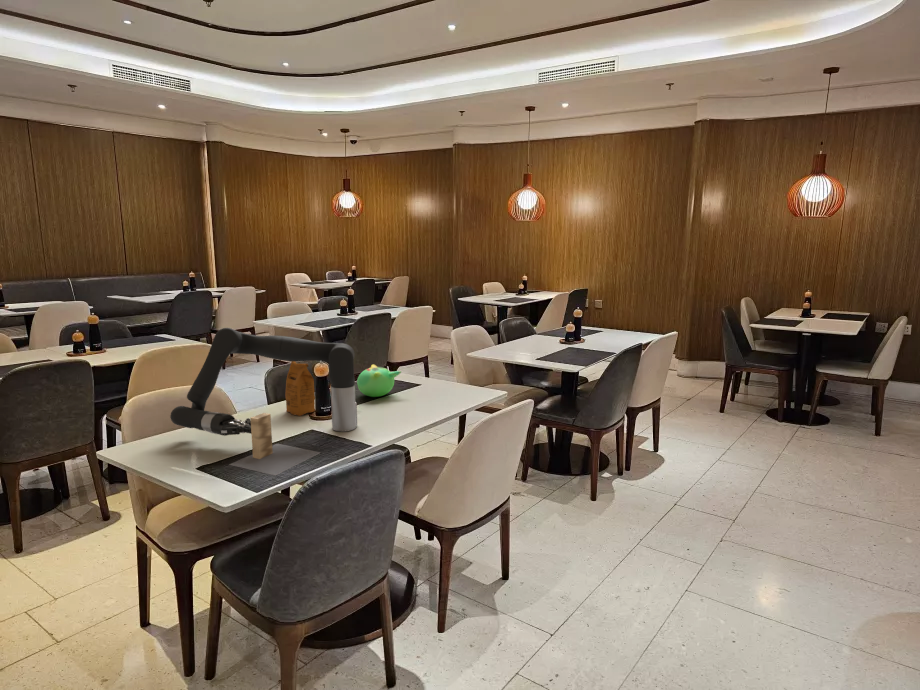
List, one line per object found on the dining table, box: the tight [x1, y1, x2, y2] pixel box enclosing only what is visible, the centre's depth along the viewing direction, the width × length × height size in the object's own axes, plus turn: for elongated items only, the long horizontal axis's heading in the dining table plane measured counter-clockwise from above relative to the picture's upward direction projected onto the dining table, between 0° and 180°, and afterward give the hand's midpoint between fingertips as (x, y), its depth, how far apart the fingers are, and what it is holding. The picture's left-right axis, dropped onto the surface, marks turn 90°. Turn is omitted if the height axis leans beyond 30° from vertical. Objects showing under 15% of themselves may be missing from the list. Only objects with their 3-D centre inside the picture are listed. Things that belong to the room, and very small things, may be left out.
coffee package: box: [285, 361, 316, 417], centre depth 245 cm, size 10×12×22 cm
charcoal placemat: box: [228, 443, 322, 476], centre depth 193 cm, size 22×20×1 cm
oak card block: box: [249, 412, 273, 459], centre depth 194 cm, size 6×3×14 cm, turn 154°
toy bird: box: [356, 364, 402, 398], centre depth 271 cm, size 18×17×15 cm
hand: (254, 430), depth 196 cm, fingers closed
